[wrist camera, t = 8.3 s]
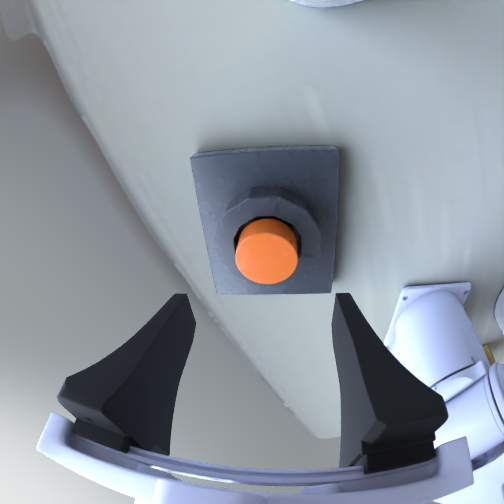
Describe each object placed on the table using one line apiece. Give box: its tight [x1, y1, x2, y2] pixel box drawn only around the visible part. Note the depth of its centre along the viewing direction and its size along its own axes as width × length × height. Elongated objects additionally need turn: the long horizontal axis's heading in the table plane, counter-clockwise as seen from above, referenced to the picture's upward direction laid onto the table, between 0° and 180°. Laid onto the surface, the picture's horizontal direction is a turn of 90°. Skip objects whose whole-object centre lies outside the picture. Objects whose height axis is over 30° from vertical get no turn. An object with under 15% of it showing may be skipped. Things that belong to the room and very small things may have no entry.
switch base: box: [190, 145, 339, 294], centre depth 18 cm, size 11×9×3 cm
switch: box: [235, 219, 298, 284], centre depth 17 cm, size 4×4×2 cm
